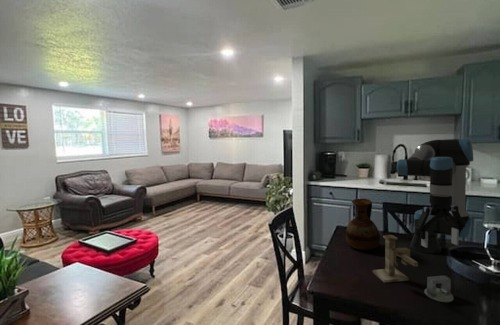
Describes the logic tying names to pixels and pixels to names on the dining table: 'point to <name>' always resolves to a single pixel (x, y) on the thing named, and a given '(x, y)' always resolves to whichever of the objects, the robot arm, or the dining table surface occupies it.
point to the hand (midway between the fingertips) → (439, 245)
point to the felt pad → (440, 296)
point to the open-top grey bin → (438, 279)
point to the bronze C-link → (398, 251)
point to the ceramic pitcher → (362, 227)
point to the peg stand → (391, 272)
